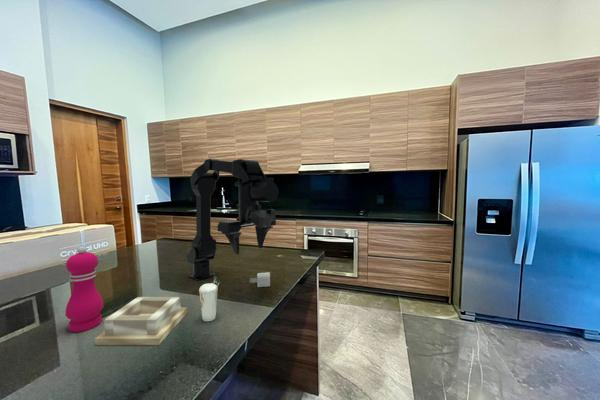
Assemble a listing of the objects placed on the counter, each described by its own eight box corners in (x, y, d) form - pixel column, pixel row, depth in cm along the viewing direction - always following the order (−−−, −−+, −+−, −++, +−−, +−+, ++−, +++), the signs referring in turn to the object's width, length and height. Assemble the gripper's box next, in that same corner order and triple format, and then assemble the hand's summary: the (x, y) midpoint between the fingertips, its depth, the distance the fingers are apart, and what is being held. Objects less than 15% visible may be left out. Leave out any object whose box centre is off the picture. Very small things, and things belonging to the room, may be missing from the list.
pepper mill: (81, 318, 66) (77, 243, 65) (110, 316, 67) (107, 242, 65) (57, 334, 59) (52, 250, 58) (90, 332, 59) (86, 250, 58)
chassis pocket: (136, 312, 69) (136, 294, 68) (187, 312, 69) (187, 294, 68) (95, 345, 55) (93, 323, 54) (158, 345, 55) (157, 323, 54)
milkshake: (215, 324, 63) (214, 285, 62) (196, 322, 64) (195, 284, 63) (224, 315, 67) (223, 279, 67) (206, 313, 68) (205, 277, 68)
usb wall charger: (270, 287, 86) (269, 275, 86) (249, 288, 85) (249, 277, 85) (269, 282, 90) (269, 271, 90) (250, 283, 89) (249, 272, 89)
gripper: (240, 203, 64) (241, 263, 65) (288, 200, 79) (288, 248, 80) (215, 202, 71) (217, 256, 72) (263, 199, 86) (264, 244, 87)
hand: (249, 251), depth 77 cm, fingers open, 9 cm apart
